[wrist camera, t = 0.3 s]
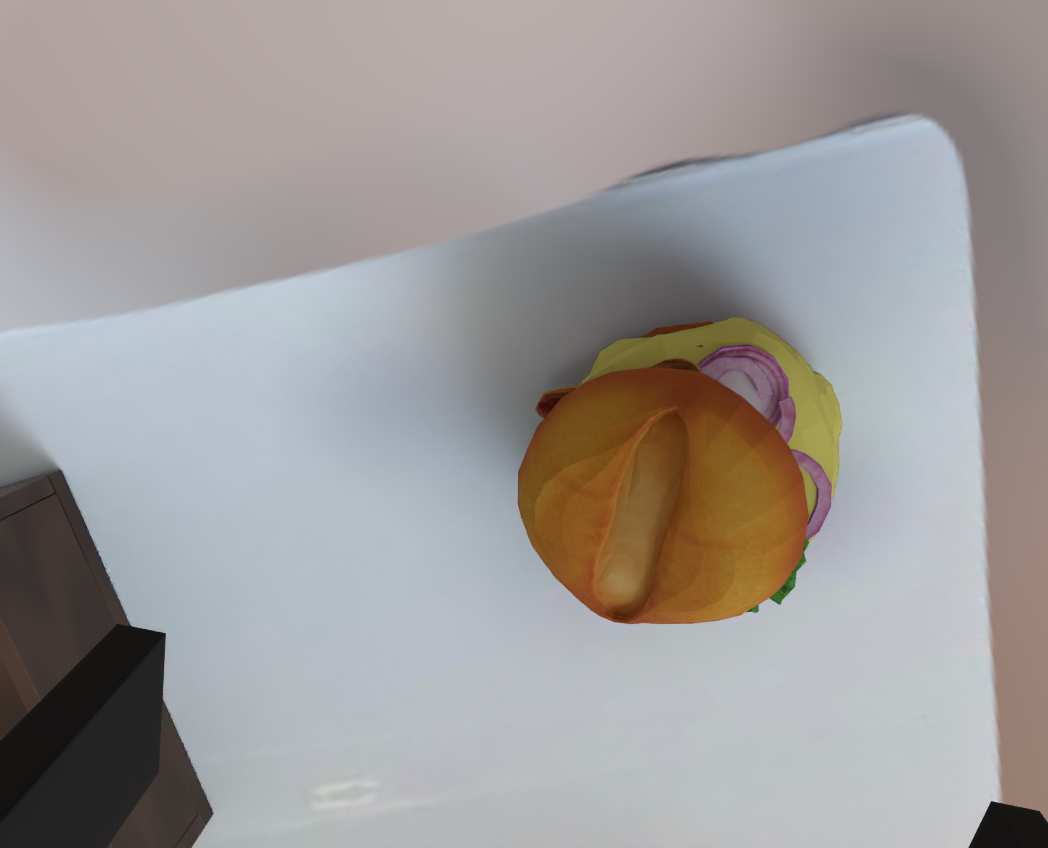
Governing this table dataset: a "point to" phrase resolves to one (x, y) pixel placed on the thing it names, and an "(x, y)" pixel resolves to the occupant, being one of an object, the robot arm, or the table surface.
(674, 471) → the cheeseburger
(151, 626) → the table surface
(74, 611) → the bin
